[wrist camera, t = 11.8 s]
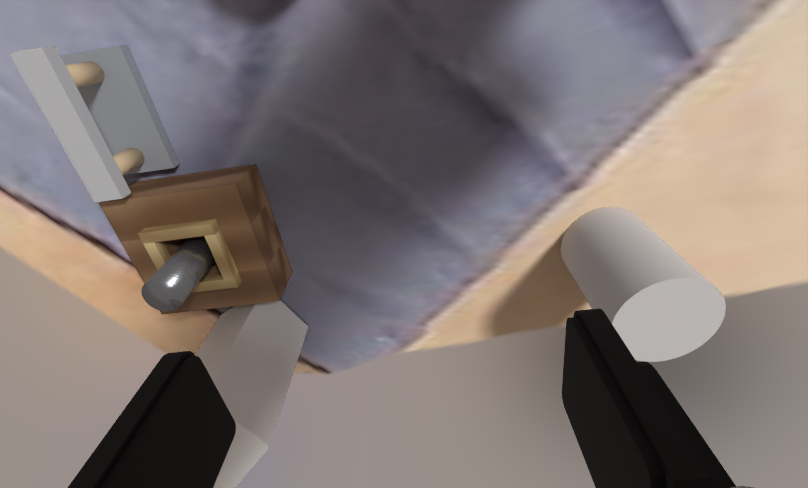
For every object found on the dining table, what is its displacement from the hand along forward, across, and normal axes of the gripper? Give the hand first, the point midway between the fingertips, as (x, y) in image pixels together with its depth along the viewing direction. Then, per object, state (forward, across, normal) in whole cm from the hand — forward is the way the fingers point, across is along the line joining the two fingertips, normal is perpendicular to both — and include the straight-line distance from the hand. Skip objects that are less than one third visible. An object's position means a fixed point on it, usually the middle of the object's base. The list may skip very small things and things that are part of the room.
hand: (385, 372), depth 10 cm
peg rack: (+28, +24, -4) cm, 37 cm away
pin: (+27, +20, +8) cm, 35 cm away
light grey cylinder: (+28, -18, +15) cm, 37 cm away
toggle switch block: (+28, +20, +8) cm, 36 cm away
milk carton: (+28, +19, +20) cm, 40 cm away
